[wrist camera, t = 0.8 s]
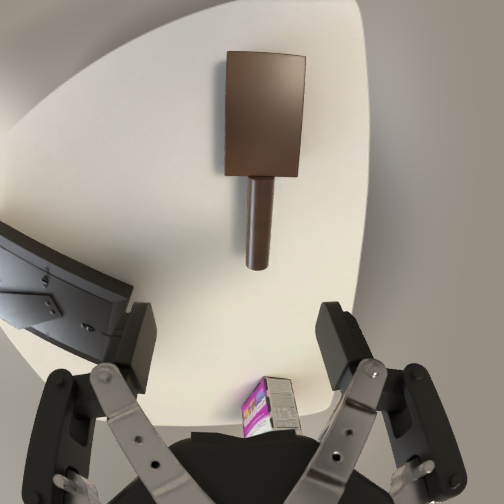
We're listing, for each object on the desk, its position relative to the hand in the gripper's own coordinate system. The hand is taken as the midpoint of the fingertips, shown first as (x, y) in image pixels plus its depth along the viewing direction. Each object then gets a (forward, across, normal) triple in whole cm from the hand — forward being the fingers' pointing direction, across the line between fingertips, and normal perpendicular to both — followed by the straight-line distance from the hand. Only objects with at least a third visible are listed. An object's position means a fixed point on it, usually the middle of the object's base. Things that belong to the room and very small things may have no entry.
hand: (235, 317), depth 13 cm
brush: (+14, -2, -4) cm, 15 cm away
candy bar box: (+14, -6, +33) cm, 36 cm away
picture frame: (+14, +24, +12) cm, 30 cm away
